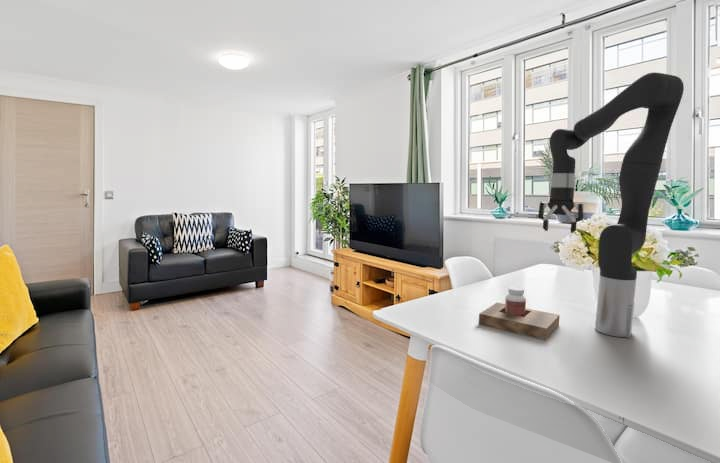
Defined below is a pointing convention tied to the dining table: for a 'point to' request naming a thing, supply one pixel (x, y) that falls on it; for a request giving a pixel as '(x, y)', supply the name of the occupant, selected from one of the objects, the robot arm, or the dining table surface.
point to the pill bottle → (515, 302)
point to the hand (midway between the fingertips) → (559, 231)
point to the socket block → (520, 321)
